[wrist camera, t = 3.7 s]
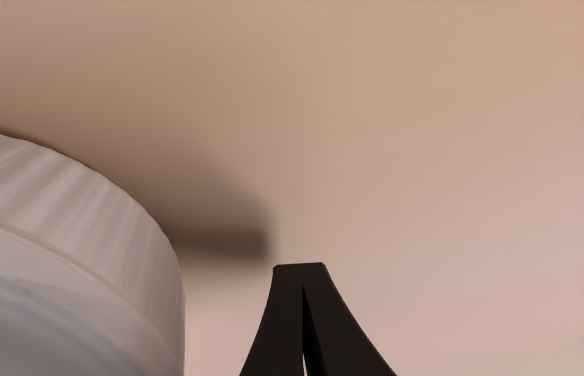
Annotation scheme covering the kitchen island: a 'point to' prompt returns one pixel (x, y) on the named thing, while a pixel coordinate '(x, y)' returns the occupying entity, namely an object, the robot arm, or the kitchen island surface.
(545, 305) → the kitchen island surface
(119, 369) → the ramekin
